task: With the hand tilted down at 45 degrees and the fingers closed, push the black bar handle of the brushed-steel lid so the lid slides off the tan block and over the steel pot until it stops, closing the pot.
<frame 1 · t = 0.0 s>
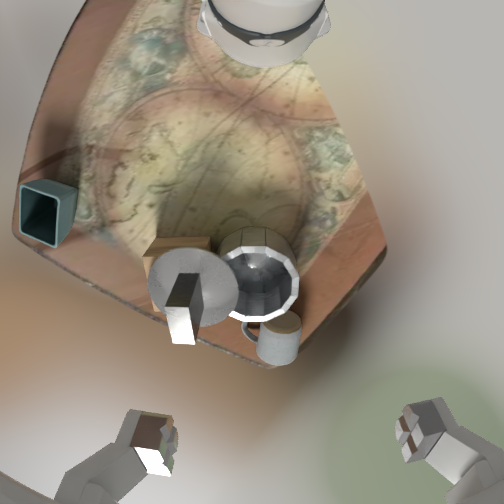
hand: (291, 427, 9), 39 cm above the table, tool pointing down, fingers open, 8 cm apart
tan block: (185, 264, 51), on the table
flower pot: (66, 198, 46), on the table
lid: (186, 305, 40), point 12 cm above the table, slide at -9.0 cm
ceramic mug: (271, 323, 56), on the table
pot: (254, 263, 50), on the table
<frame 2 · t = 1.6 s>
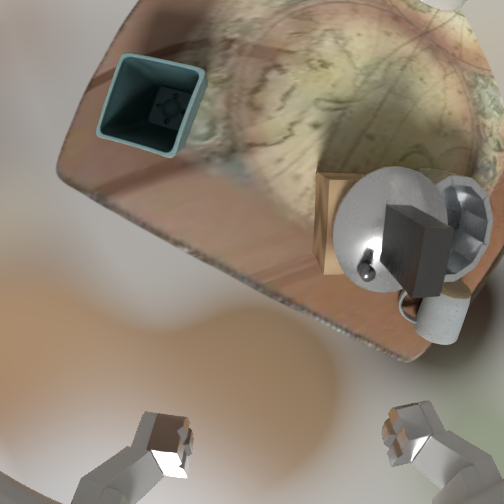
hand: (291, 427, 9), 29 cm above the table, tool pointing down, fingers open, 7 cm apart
tan block: (350, 213, 36), on the table
flower pot: (172, 109, 32), on the table
lid: (411, 245, 25), point 12 cm above the table, slide at -9.0 cm
ceramic mug: (424, 297, 41), on the table
pot: (428, 215, 36), on the table
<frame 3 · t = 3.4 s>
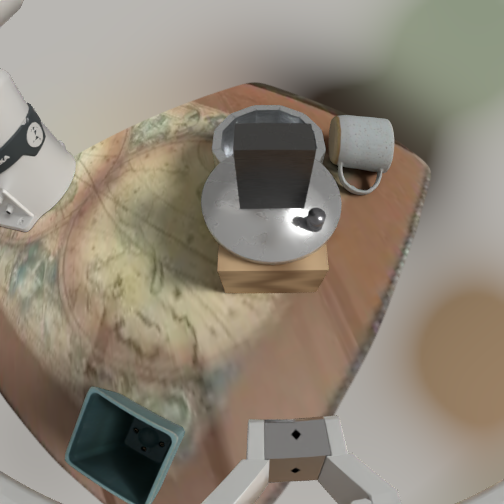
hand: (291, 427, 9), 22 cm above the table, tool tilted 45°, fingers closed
tan block: (270, 254, 35), on the table
flower pot: (151, 436, 27), on the table
lid: (272, 171, 25), point 12 cm above the table, slide at -9.0 cm
ceramic mug: (356, 168, 41), on the table
pot: (268, 175, 40), on the table
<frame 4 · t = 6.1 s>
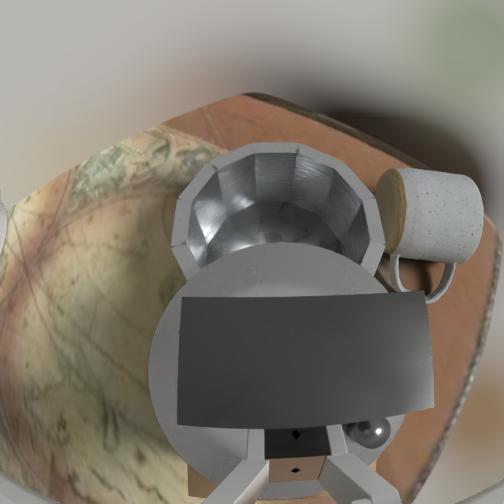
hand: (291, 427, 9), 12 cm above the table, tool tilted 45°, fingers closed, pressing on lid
tan block: (277, 411, 20), on the table
lid: (294, 369, 10), point 12 cm above the table, slide at -8.8 cm, touching gripper
ceramic mug: (412, 249, 25), on the table
pot: (275, 263, 25), on the table
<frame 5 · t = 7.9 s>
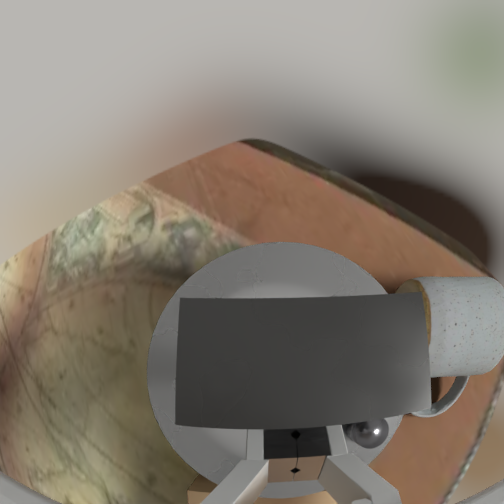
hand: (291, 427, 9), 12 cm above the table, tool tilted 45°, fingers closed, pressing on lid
lid: (292, 369, 10), point 12 cm above the table, slide at 0.1 cm, touching gripper
ceramic mug: (425, 351, 21), on the table
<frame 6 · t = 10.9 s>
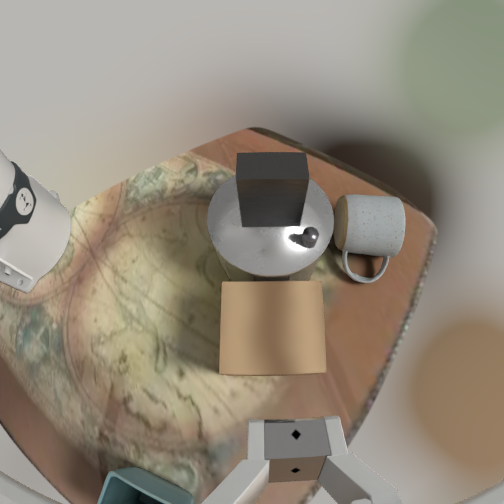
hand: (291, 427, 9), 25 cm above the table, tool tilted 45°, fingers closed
tan block: (270, 337, 35), on the table
flower pot: (162, 494, 26), on the table
lid: (271, 194, 29), point 12 cm above the table, slide at 0.0 cm
ceramic mug: (362, 248, 39), on the table
pot: (269, 247, 39), on the table
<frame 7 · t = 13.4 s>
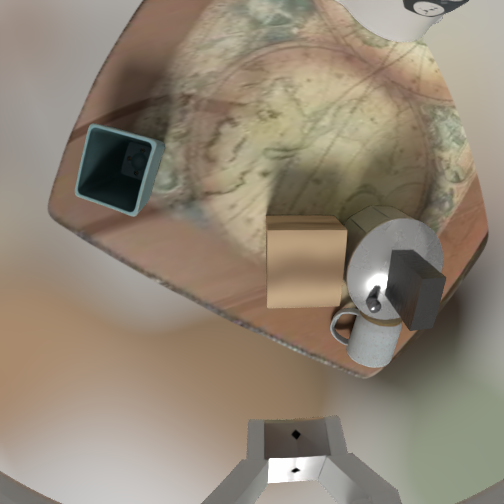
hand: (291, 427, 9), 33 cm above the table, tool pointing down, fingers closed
tan block: (299, 250, 42), on the table
flower pot: (141, 162, 38), on the table
lid: (411, 285, 31), point 12 cm above the table, slide at 0.0 cm
ceramic mug: (360, 321, 46), on the table
pot: (376, 249, 42), on the table
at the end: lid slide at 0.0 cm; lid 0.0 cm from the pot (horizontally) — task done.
